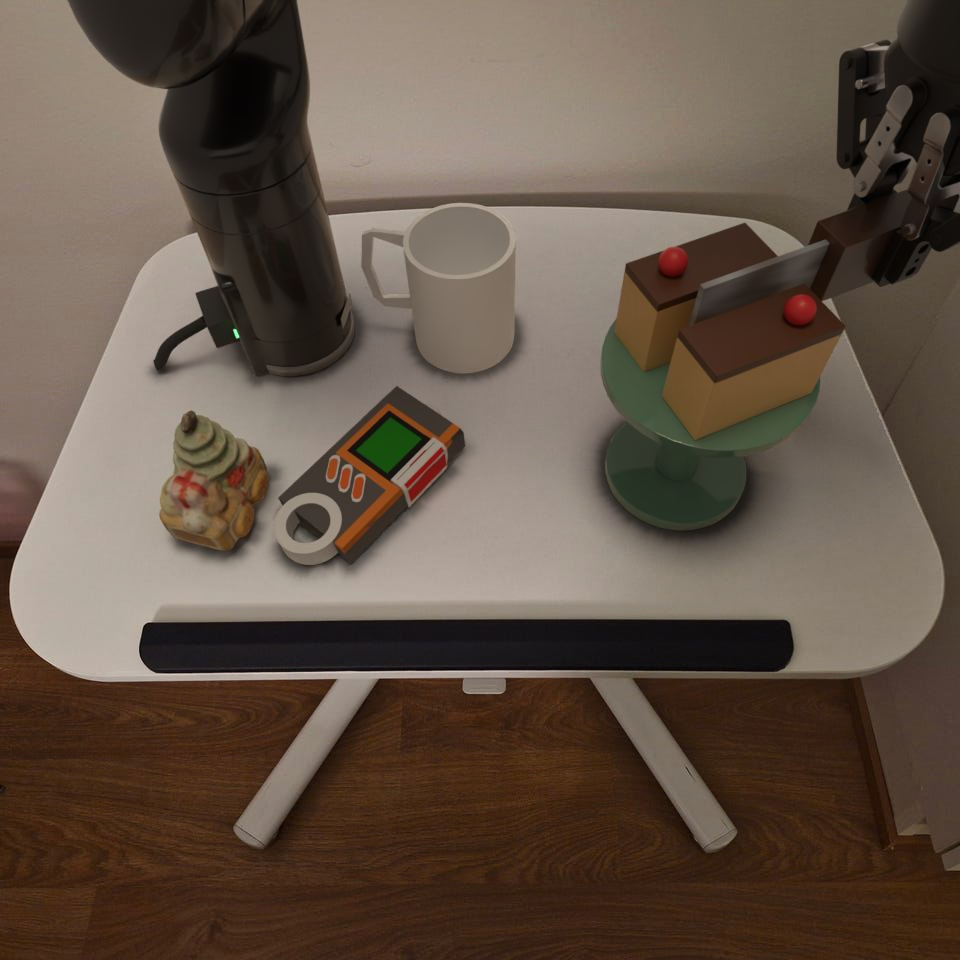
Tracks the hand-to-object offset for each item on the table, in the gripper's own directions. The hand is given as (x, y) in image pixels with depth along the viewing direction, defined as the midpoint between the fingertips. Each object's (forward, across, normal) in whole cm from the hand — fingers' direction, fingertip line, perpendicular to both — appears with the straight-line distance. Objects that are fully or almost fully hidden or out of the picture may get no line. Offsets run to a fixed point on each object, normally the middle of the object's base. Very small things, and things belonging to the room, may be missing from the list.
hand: (871, 262), depth 46 cm
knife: (0, 0, -5) cm, 5 cm away
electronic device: (+16, -8, -31) cm, 36 cm away
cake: (+4, 0, -10) cm, 11 cm away
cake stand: (+16, 0, -10) cm, 19 cm away
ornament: (+16, -11, -41) cm, 46 cm away
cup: (+16, -20, -20) cm, 33 cm away
